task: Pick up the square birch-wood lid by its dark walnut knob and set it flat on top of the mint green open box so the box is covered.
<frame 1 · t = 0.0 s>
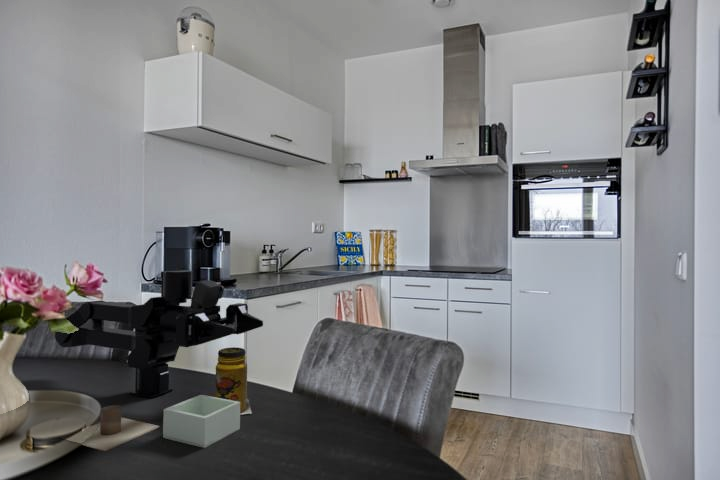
hand: (248, 327, 96), 17 cm above the table, tool horizontal, fingers open, 9 cm apart
lid: (110, 436, 85), on the table
mint green open box: (202, 434, 85), on the table
condiment: (231, 410, 98), on the table
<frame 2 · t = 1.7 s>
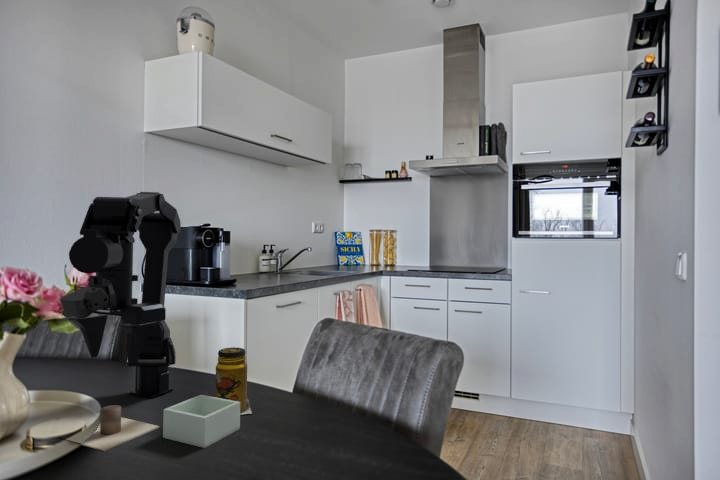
hand: (112, 360, 85), 12 cm above the table, tool pointing down, fingers open, 9 cm apart
nothing on the table moved.
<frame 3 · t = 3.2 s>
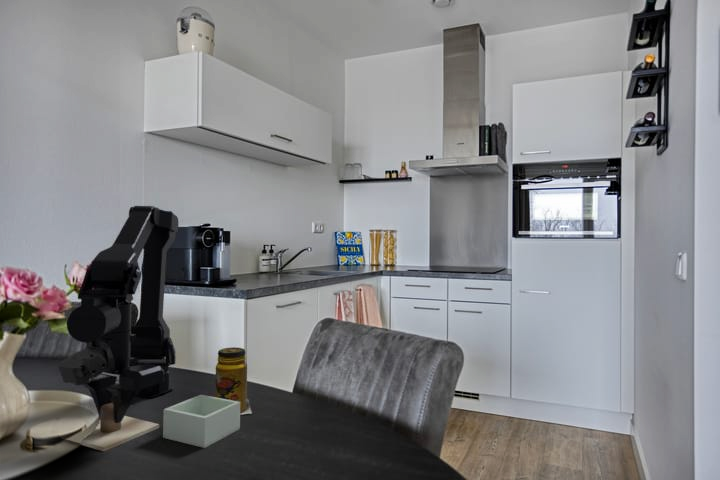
hand: (110, 420, 85), 2 cm above the table, tool pointing down, fingers closed on lid, 3 cm apart
lid: (110, 433, 85), on the table, touching gripper
everything else where it was.
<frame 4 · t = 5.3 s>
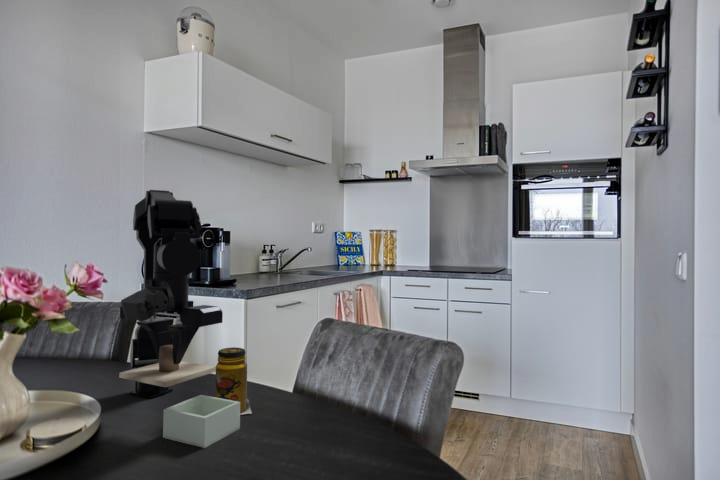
hand: (169, 362, 85), 12 cm above the table, tool pointing down, fingers closed on lid, 3 cm apart
lid: (168, 374, 85), point 10 cm above the table, touching gripper
everything else where it was.
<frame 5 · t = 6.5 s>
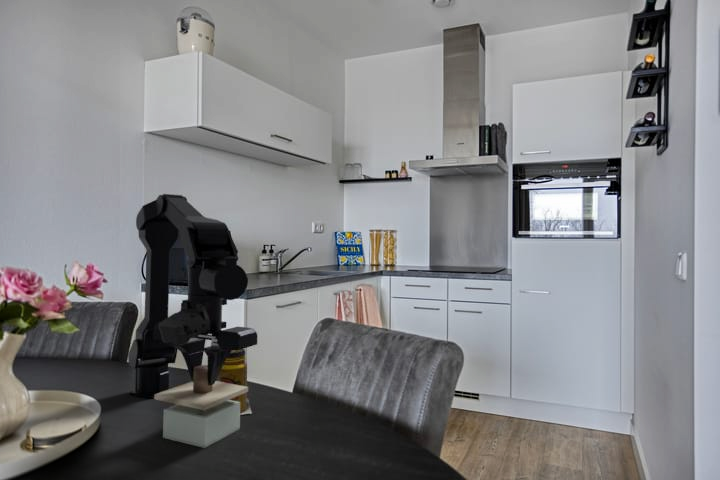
hand: (203, 383, 85), 9 cm above the table, tool pointing down, fingers closed on lid, 3 cm apart
lid: (202, 395, 85), point 7 cm above the table, touching gripper
everything else where it was.
when the fingers open (8 cm above the table, at t = 7.1 s): lid drops 2 cm, resting on mint green open box.
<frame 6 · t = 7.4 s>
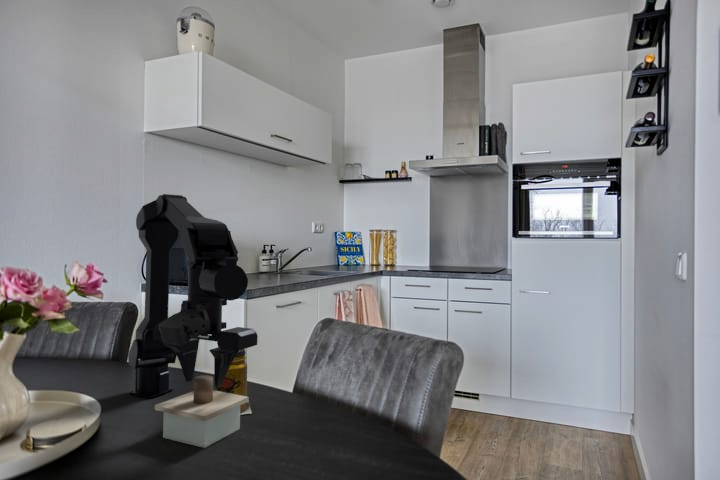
hand: (203, 383, 85), 8 cm above the table, tool pointing down, fingers open, 6 cm apart
lid: (203, 405, 85), point 5 cm above the table, touching mint green open box
mint green open box: (202, 434, 85), on the table, touching lid
everything else where it was.
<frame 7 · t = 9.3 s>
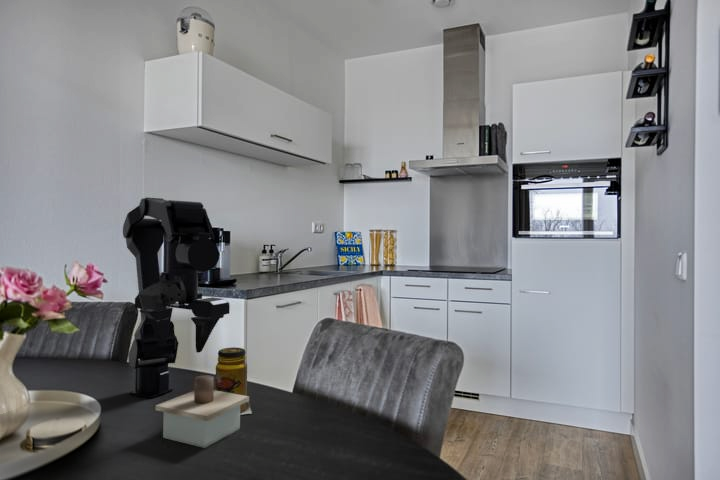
hand: (180, 348, 93), 13 cm above the table, tool pointing down, fingers open, 9 cm apart
nothing on the table moved.
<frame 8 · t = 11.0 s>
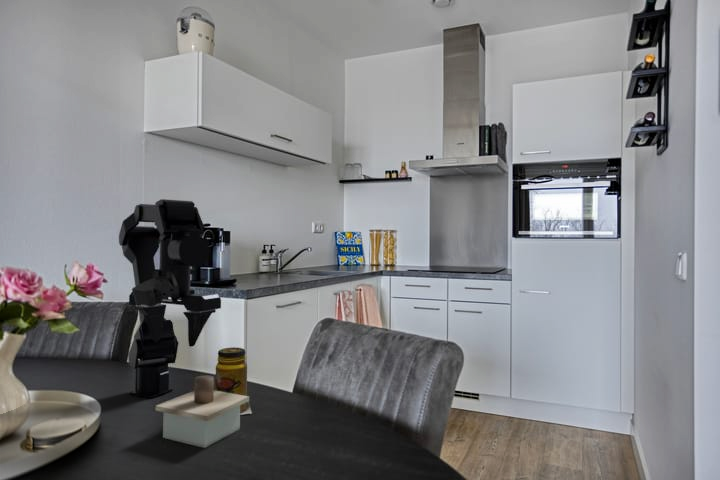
hand: (173, 343, 96), 13 cm above the table, tool pointing down, fingers open, 9 cm apart
nothing on the table moved.
at the end: lid 0.1 cm off-centre on the mint green open box, point 5.0 cm above the mint green open box's base; lid tilted 0°; the gripper is holding nothing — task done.
